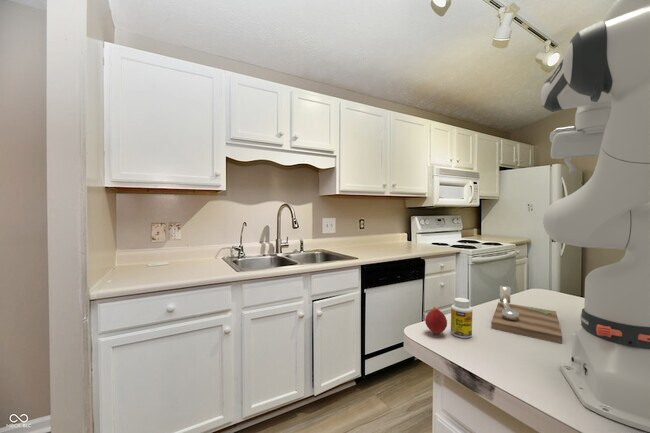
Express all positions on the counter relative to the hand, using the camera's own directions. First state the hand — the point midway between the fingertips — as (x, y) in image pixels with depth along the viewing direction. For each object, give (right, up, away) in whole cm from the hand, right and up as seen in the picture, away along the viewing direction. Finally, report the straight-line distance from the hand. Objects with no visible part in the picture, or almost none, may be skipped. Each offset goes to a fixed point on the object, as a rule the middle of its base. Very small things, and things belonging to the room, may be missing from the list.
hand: (594, 171), depth 83 cm
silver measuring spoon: (-18, -44, +11) cm, 49 cm away
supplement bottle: (-39, -48, -1) cm, 62 cm away
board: (-15, -47, +8) cm, 50 cm away
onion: (-46, -48, -1) cm, 66 cm away
